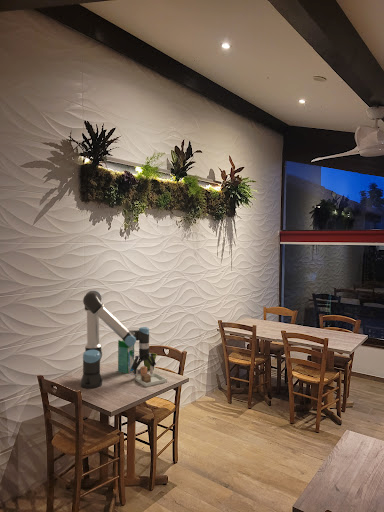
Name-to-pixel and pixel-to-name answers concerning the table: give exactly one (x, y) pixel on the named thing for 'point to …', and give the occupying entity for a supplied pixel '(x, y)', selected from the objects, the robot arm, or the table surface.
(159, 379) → the pale grey tray
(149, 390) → the table surface
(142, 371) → the terracotta cylinder
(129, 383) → the table surface
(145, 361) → the plant pot
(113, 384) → the table surface
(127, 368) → the milk carton
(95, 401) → the table surface
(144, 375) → the walnut cube
